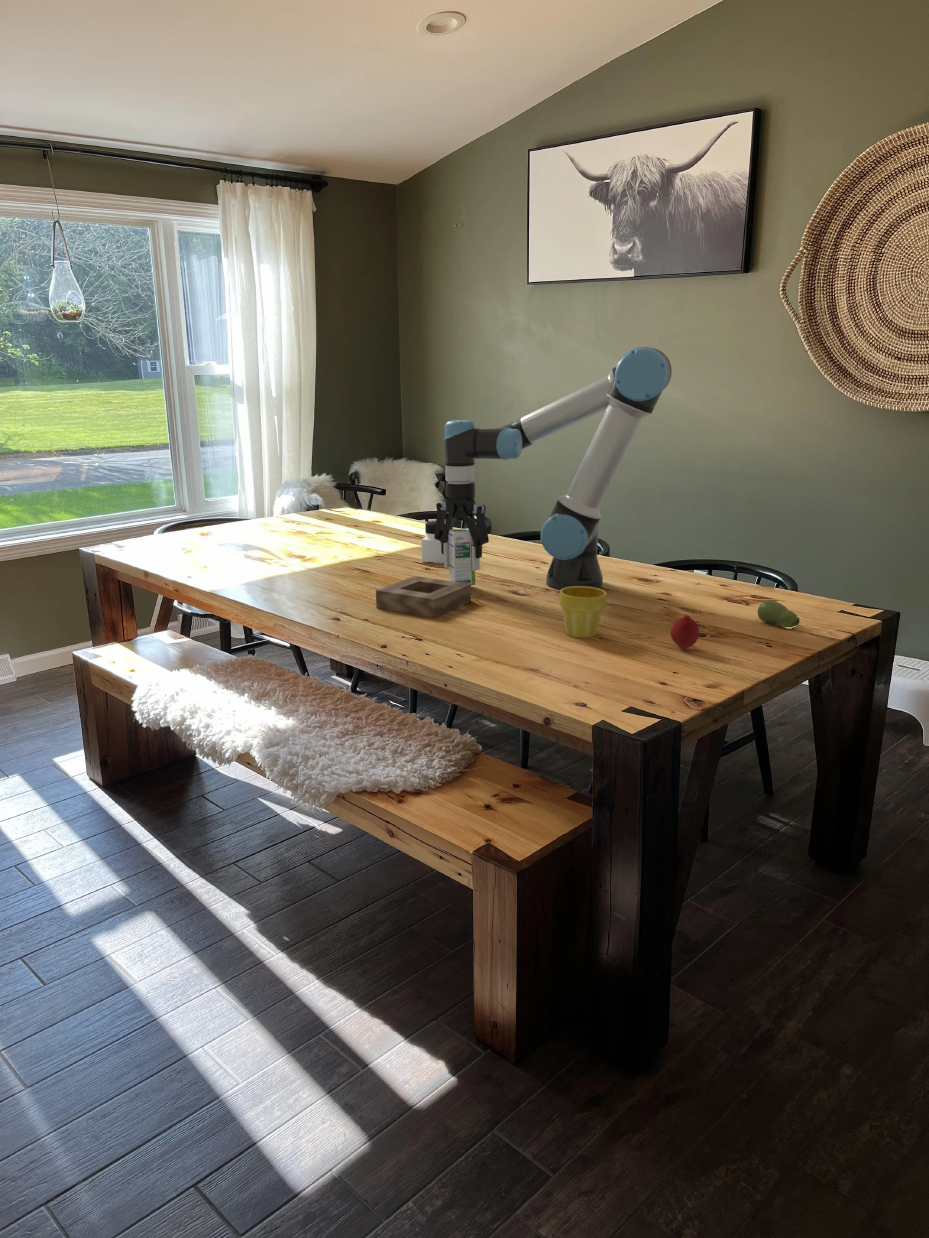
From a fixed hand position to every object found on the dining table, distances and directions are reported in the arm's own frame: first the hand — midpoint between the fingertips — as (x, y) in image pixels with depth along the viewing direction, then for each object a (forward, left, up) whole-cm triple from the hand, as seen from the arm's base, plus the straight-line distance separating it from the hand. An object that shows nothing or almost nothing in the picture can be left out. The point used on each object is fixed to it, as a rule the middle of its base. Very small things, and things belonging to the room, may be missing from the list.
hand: (461, 568), depth 236 cm
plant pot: (-44, +20, -6) cm, 48 cm away
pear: (-80, -10, -6) cm, 80 cm away
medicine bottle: (+24, -25, -6) cm, 35 cm away
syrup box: (0, 0, -4) cm, 5 cm away
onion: (-67, +19, -6) cm, 70 cm away
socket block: (0, +18, -6) cm, 19 cm away
